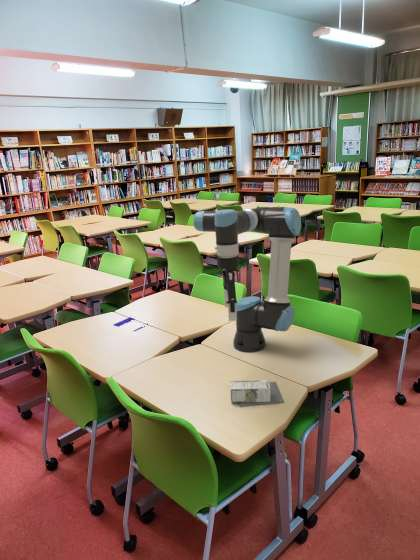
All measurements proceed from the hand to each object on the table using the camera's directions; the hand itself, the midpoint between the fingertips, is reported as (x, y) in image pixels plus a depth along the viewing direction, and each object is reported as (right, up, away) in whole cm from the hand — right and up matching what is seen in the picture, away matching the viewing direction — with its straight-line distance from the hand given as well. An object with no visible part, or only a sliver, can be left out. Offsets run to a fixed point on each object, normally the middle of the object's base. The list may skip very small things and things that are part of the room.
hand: (230, 313), depth 150 cm
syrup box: (0, -30, +4) cm, 30 cm away
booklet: (-48, -14, +80) cm, 94 cm away
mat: (+11, -31, +8) cm, 34 cm away
